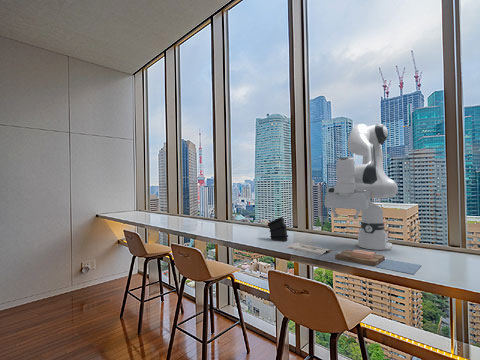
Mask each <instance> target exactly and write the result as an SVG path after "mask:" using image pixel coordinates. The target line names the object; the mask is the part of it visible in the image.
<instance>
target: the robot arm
mask: <svg viewBox="0 0 480 360" xmlns="http://www.w3.org/2000/svg"><path fill="white" fill-rule="evenodd" d="M349 133H350V134H349V135H348V139H347V149H348V150H349V152H351V153H352V154H353V155H357V156H362V164H355V158H354V157H352V156H344V157H338V159H337V161H336V169H335V170H336V172H335V175H336V182H335V185H334V186H331V187H328V188H326V189H325V191H326V194H325V197H324V207H325V208H329V209H330V208H331V212H332V213H333V217H334V218H338V217H339V213H337V211H336V210H337V209H346V210H347V209H349V210H355V212H356V213H355V214H353V219H354V220H358V219H359V214H361V215H360V216H361V222H360V229H359V231H358V235H357V242H355V243H354V244H355V246H358V247H360V248H363V249H366V250H367V249H368V250H373V251H374V250H376V251H377V250H379V251H381V250H385V251H386V250H388V251H390V250H392V247H393V243H391V242H389V236H388V233H387V232H386V230H385V222H384V210H383V208H382V207H381V206H379V205H378V204H376V203H374V202H373V201H371V199H390V198H394V197H395V196H396V195H397V193H398V190H399V188H398V184H397V182H396V181H395V180H393V179H391V178H390V177H389V176H388V175H387V174H386V173H385V170H384V153H383V148H382V146H381V145H384V144H385V141H387V139H388V135H389V131H388V128H387V126H386V125H385V124H383V123H376V124H373V125H366V124H364V123H359V124H356V125H354V126H353V128H352V129H351V131H350V132H349Z"/></svg>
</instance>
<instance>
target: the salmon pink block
mask: <svg viewBox="0 0 480 360" xmlns="http://www.w3.org/2000/svg"><path fill="white" fill-rule="evenodd" d="M351 256H355V257H360V258H366V259H373V258H375V257H376V252H374V251H368V250H363V249H362V250H361V249H354V250H352V252H351Z"/></svg>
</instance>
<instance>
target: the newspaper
mask: <svg viewBox="0 0 480 360" xmlns="http://www.w3.org/2000/svg"><path fill="white" fill-rule="evenodd" d="M286 248H287V249H291V250H295V251H300V252H304V251H305V252H306V253H309V252H310V254H314V253H315V254H316V255H319V254H321V255H320V256H323V254H325V253H332V252H333V249H331V248H324V247H320V246H316V245H309V244H304V243H300V242H294V243H292V244H290V245H288V246H287V247H286ZM326 251H328V252H326Z"/></svg>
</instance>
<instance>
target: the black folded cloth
mask: <svg viewBox="0 0 480 360" xmlns="http://www.w3.org/2000/svg"><path fill="white" fill-rule="evenodd" d="M267 227H268V228H269V233H270V236H269V237H270V239H271V240H272V241H279V242H287V241H288V237H289V234H288V230H287V225H286V223H285V218H284V217H283V216H280V217H278V218H276V219H274V220H272V221H269V222H267Z"/></svg>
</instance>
